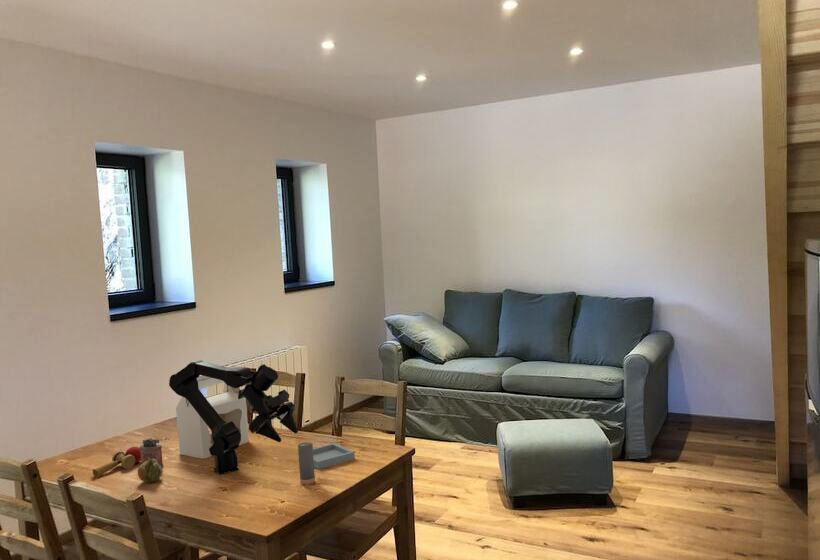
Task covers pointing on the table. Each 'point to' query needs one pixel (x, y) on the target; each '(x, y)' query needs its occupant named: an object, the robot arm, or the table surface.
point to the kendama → (120, 461)
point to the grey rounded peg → (306, 463)
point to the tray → (331, 455)
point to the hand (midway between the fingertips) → (288, 437)
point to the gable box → (195, 430)
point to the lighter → (151, 451)
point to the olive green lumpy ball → (150, 471)
